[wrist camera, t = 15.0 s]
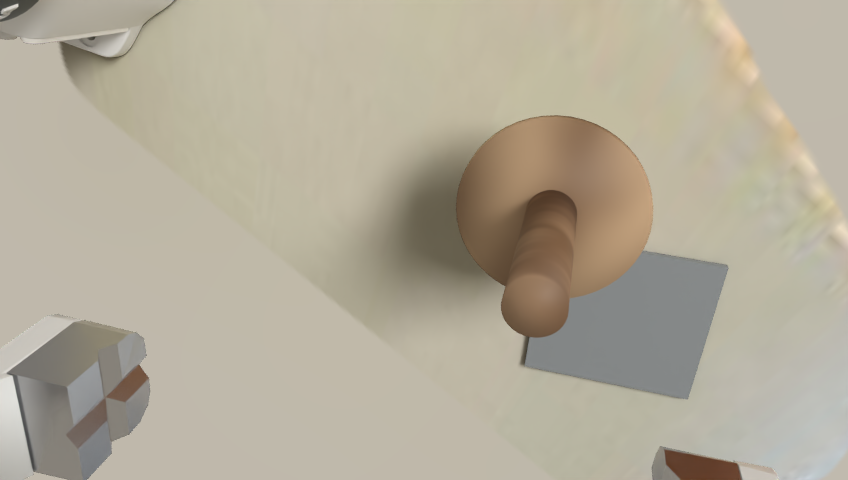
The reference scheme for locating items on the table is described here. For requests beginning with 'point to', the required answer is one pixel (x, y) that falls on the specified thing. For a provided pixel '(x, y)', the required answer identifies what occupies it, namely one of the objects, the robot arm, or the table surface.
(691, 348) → the mat
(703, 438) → the table surface
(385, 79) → the table surface
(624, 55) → the table surface
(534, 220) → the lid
